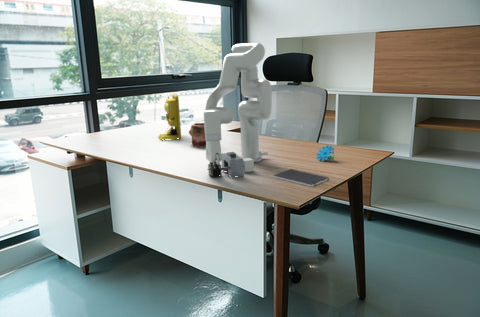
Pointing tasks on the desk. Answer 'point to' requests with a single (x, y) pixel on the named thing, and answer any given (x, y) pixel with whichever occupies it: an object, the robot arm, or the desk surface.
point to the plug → (247, 166)
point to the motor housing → (232, 163)
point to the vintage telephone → (172, 118)
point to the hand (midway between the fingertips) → (215, 174)
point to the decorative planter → (198, 134)
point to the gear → (325, 153)
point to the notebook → (301, 177)
